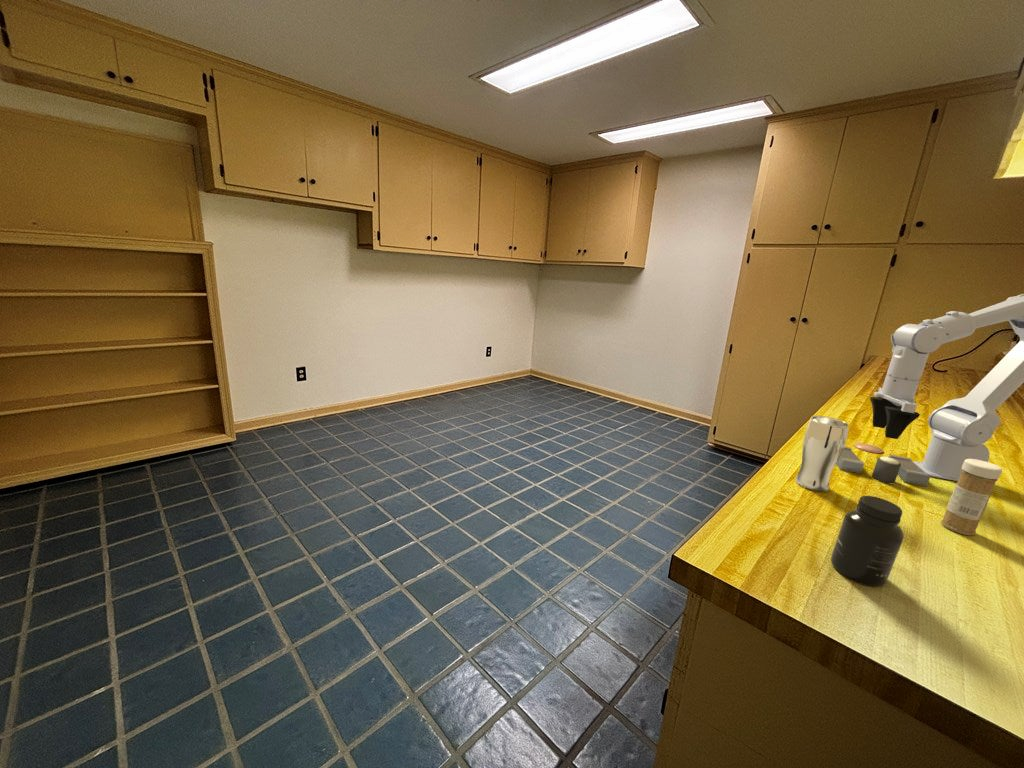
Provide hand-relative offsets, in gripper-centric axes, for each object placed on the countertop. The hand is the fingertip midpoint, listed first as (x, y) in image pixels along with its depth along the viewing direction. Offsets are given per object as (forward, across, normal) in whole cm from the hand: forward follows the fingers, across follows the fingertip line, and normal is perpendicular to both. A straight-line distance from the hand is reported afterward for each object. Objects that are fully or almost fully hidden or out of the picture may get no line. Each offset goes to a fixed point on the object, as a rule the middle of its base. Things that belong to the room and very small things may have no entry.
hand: (884, 432), depth 97 cm
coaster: (+9, -15, +3) cm, 18 cm away
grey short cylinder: (+10, +6, 0) cm, 12 cm away
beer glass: (+10, +18, -16) cm, 27 cm away
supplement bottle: (+10, +49, -17) cm, 52 cm away
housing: (+9, +1, 0) cm, 9 cm away
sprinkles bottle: (+10, +24, +5) cm, 27 cm away
